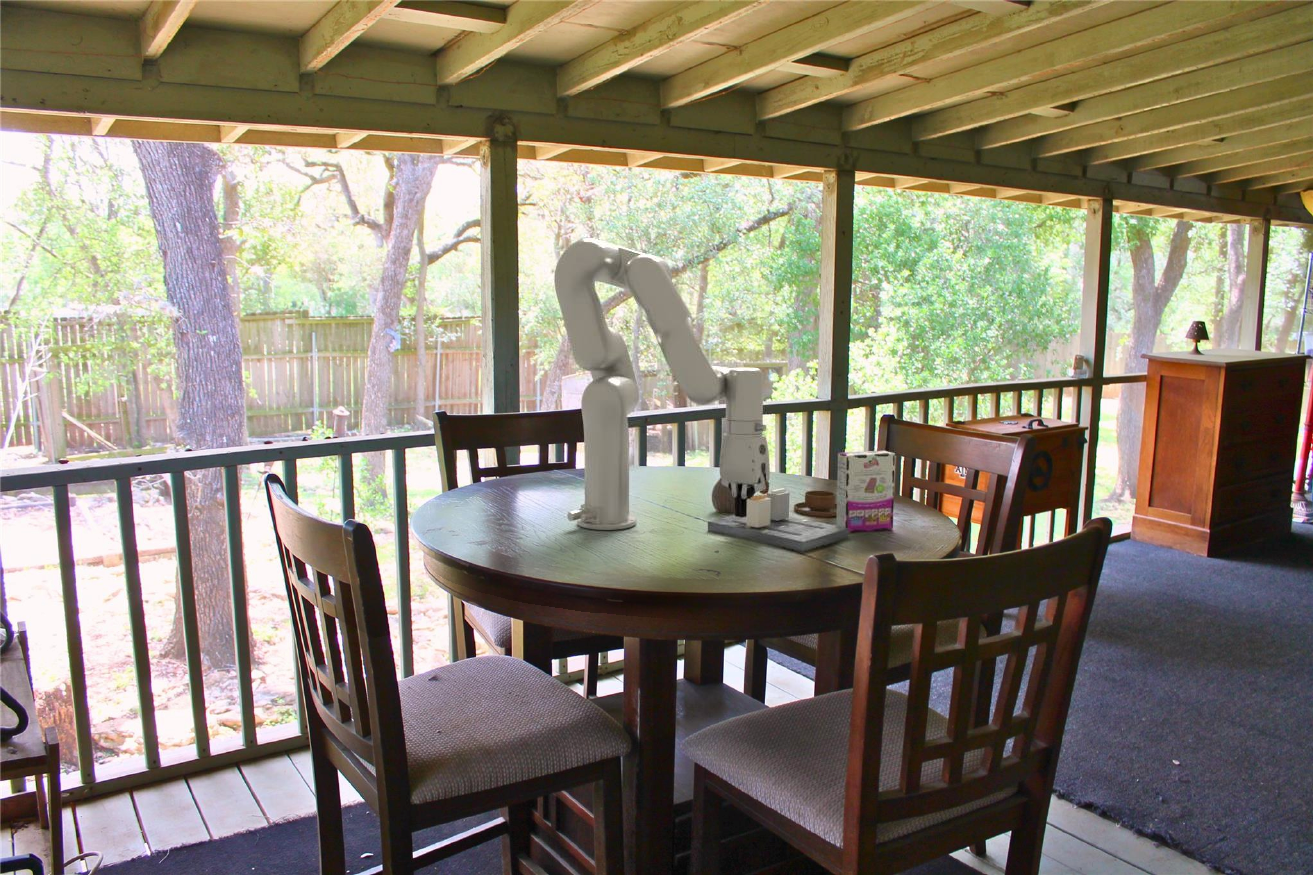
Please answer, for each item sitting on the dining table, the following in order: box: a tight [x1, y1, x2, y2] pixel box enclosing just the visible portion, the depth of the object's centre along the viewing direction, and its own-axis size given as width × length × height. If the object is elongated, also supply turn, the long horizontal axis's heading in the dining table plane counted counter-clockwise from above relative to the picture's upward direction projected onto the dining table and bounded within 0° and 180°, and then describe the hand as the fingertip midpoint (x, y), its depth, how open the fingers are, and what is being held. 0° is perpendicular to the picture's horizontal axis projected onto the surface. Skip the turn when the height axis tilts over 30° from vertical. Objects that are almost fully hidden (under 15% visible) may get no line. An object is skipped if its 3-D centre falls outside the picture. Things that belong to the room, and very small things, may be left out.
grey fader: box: [766, 487, 791, 521], centre depth 191 cm, size 4×3×6 cm
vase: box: [711, 477, 735, 515], centre depth 207 cm, size 7×7×9 cm
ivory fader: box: [746, 493, 771, 527], centre depth 185 cm, size 4×3×6 cm
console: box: [707, 514, 850, 553], centre depth 187 cm, size 16×24×2 cm, turn 46°
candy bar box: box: [836, 450, 896, 534], centre depth 191 cm, size 11×5×16 cm, turn 105°
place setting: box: [758, 481, 837, 518], centre depth 212 cm, size 18×20×6 cm
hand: (742, 515), depth 188 cm, fingers closed
